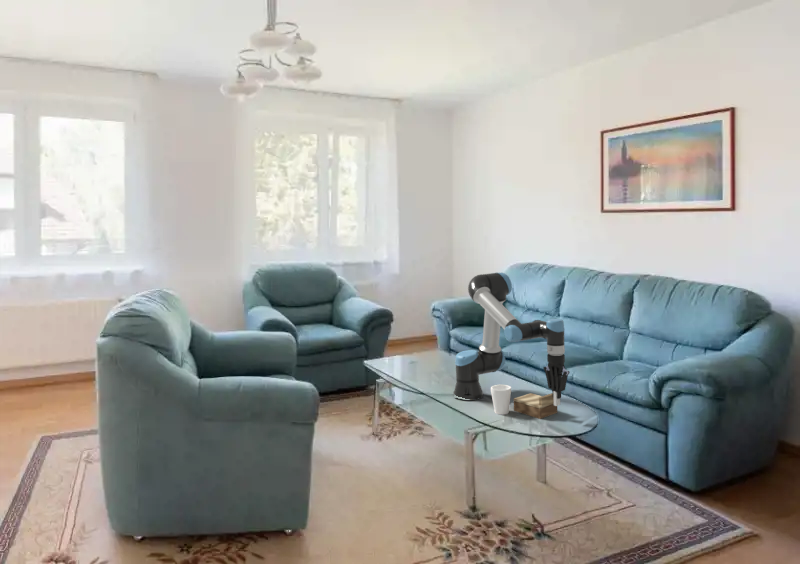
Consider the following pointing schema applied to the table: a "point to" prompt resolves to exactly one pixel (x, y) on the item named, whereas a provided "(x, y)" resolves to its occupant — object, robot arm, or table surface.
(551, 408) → the brown wooden box
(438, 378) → the table surface
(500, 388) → the foam cup
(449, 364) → the table surface
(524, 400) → the lid
